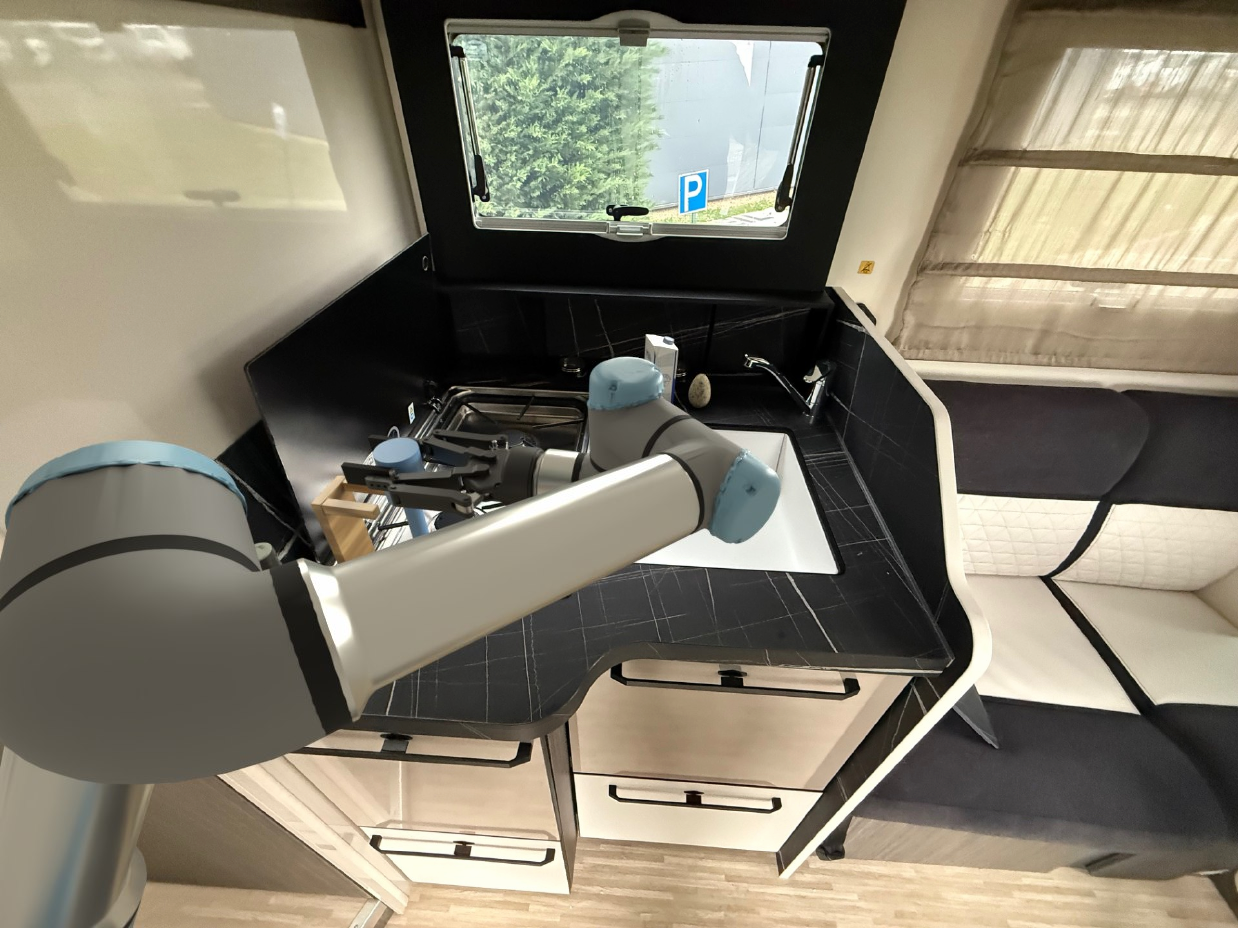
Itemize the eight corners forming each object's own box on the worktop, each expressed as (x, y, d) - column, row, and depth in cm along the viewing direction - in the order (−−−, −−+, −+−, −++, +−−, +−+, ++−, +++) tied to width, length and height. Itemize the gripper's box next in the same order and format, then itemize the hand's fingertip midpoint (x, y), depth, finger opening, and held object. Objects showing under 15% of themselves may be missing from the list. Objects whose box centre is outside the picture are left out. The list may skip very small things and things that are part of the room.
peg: (418, 573, 71) (384, 468, 60) (400, 552, 73) (365, 449, 63) (452, 553, 74) (426, 450, 63) (433, 534, 76) (405, 432, 65)
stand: (442, 610, 90) (401, 474, 71) (418, 658, 82) (365, 520, 64) (390, 602, 91) (336, 467, 72) (361, 649, 83) (294, 511, 65)
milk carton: (642, 400, 147) (645, 333, 135) (664, 397, 149) (670, 331, 137) (649, 412, 142) (653, 344, 130) (672, 410, 143) (679, 342, 131)
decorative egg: (698, 398, 149) (702, 367, 143) (713, 407, 145) (717, 375, 139) (682, 405, 146) (686, 373, 140) (697, 414, 142) (702, 381, 136)
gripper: (521, 558, 57) (324, 531, 59) (561, 459, 71) (402, 441, 74) (514, 507, 52) (302, 480, 55) (558, 413, 67) (389, 395, 69)
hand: (359, 458), depth 64 cm, fingers closed on peg, 5 cm apart
